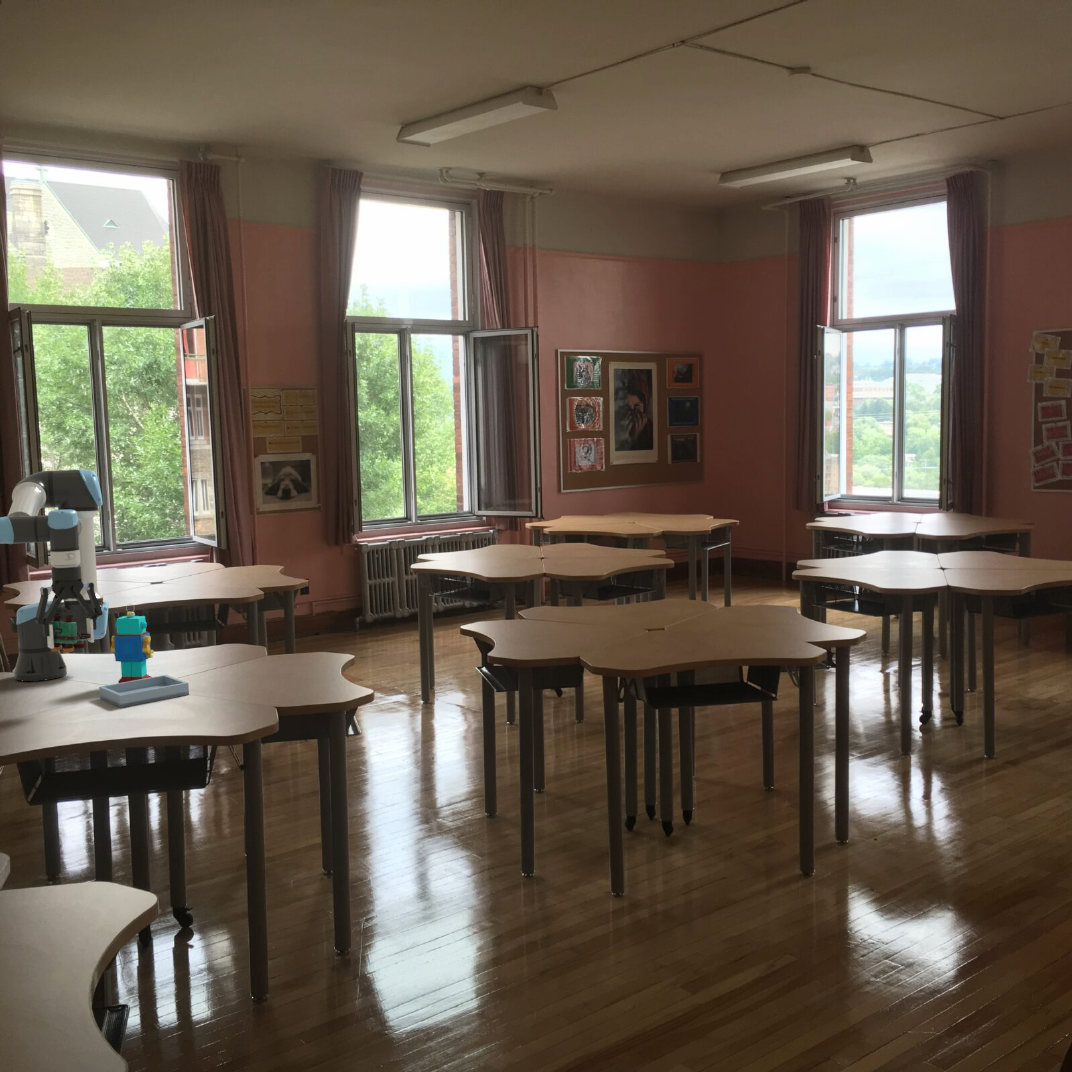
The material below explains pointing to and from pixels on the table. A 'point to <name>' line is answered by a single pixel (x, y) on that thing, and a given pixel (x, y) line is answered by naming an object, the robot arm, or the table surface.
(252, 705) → the table surface
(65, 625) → the binoculars
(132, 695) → the light blue rectangular tray
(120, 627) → the toy robot
